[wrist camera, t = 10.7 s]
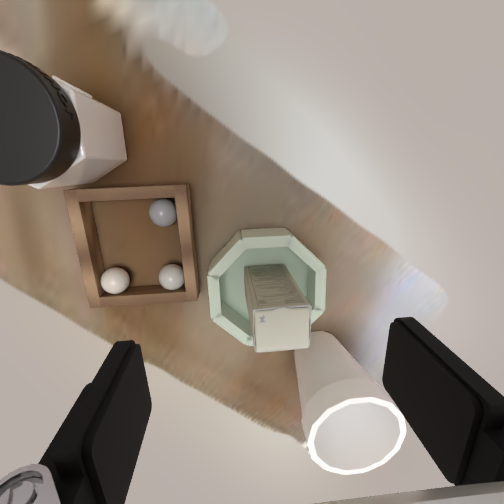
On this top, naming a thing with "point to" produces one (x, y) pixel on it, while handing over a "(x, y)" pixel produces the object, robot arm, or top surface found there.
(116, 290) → the pebble
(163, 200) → the pebble
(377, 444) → the foam cup
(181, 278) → the white ball
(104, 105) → the jar
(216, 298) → the bowl
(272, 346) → the box
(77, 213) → the tray
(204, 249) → the top surface
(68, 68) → the top surface
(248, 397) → the top surface
